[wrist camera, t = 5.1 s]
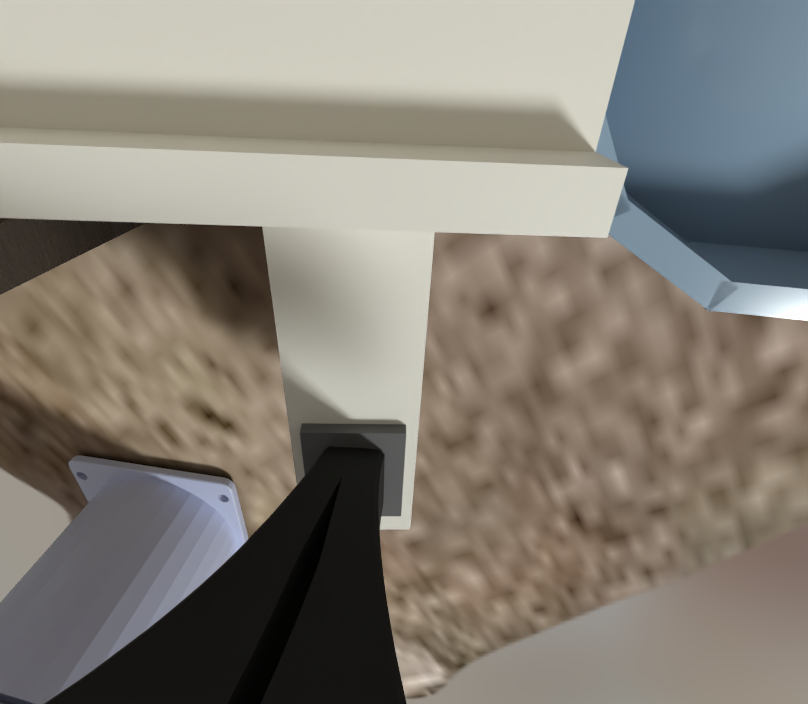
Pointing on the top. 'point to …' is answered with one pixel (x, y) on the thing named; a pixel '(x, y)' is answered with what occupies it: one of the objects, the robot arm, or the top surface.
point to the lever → (320, 160)
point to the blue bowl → (716, 150)
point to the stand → (48, 245)
